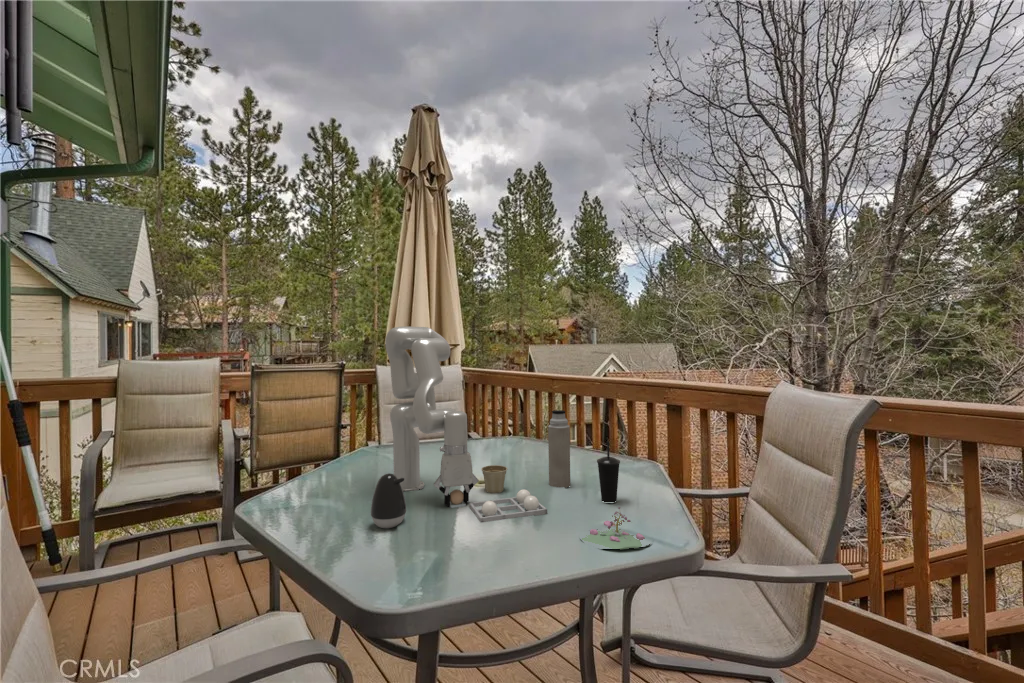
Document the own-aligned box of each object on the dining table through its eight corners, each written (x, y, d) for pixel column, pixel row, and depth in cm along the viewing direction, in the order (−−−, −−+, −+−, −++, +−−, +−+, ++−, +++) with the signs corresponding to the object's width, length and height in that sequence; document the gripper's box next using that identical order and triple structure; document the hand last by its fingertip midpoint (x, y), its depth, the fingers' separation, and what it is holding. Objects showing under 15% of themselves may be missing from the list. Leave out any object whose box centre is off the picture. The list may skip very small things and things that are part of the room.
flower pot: (509, 488, 173) (508, 465, 173) (506, 497, 163) (506, 472, 163) (483, 488, 174) (483, 464, 174) (479, 496, 164) (479, 471, 164)
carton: (480, 525, 138) (480, 518, 138) (469, 509, 152) (469, 502, 152) (547, 515, 145) (547, 509, 145) (530, 501, 159) (530, 495, 159)
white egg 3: (526, 514, 144) (526, 499, 144) (521, 509, 149) (521, 494, 149) (541, 512, 146) (541, 497, 146) (535, 507, 151) (535, 492, 151)
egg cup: (448, 511, 150) (448, 507, 150) (445, 505, 156) (445, 500, 156) (468, 509, 152) (468, 504, 152) (464, 502, 158) (464, 498, 158)
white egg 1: (484, 520, 140) (483, 504, 140) (479, 515, 145) (479, 499, 145) (499, 518, 142) (499, 502, 142) (494, 513, 146) (494, 497, 146)
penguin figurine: (394, 534, 133) (393, 480, 133) (363, 529, 136) (362, 476, 136) (413, 521, 142) (413, 470, 142) (384, 517, 146) (384, 468, 146)
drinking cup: (607, 506, 152) (606, 445, 152) (592, 500, 159) (591, 440, 159) (625, 502, 156) (624, 442, 156) (610, 496, 163) (609, 438, 163)
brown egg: (450, 507, 151) (450, 492, 151) (447, 503, 155) (447, 488, 155) (465, 505, 152) (465, 491, 152) (462, 501, 157) (462, 486, 157)
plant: (570, 518, 144) (570, 489, 144) (637, 517, 144) (637, 487, 144) (585, 555, 119) (584, 519, 119) (666, 553, 119) (665, 517, 119)
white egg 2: (519, 507, 151) (519, 492, 151) (514, 502, 155) (514, 488, 155) (533, 505, 152) (533, 490, 152) (528, 501, 157) (527, 486, 157)
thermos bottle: (555, 481, 181) (554, 408, 181) (574, 484, 177) (572, 409, 177) (545, 486, 174) (544, 411, 175) (564, 490, 170) (563, 412, 170)
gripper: (431, 454, 148) (432, 512, 148) (484, 449, 153) (484, 505, 153) (428, 449, 155) (428, 504, 155) (478, 445, 160) (479, 498, 160)
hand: (456, 504), depth 154 cm, fingers closed on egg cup, 5 cm apart
